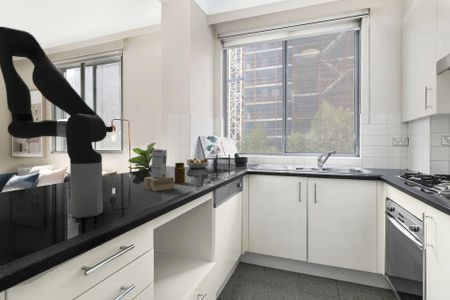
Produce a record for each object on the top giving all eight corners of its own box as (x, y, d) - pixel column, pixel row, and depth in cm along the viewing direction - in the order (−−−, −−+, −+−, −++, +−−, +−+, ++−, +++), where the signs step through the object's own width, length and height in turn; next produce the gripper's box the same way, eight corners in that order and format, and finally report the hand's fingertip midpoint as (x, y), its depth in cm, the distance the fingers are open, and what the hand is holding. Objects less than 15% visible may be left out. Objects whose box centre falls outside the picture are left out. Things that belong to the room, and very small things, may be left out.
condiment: (187, 183, 142) (187, 162, 141) (175, 184, 136) (175, 163, 135) (180, 181, 147) (180, 162, 147) (168, 183, 141) (168, 163, 141)
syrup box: (161, 178, 122) (163, 149, 122) (150, 177, 122) (152, 149, 122) (165, 176, 127) (167, 149, 127) (155, 176, 128) (156, 149, 128)
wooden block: (173, 188, 125) (173, 177, 125) (154, 192, 118) (154, 179, 117) (162, 186, 133) (162, 175, 133) (144, 188, 125) (143, 177, 125)
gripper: (68, 118, 96) (113, 120, 104) (71, 121, 109) (110, 122, 117) (69, 137, 97) (113, 137, 105) (71, 137, 109) (111, 137, 117)
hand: (112, 129), depth 111 cm, fingers open, 8 cm apart
